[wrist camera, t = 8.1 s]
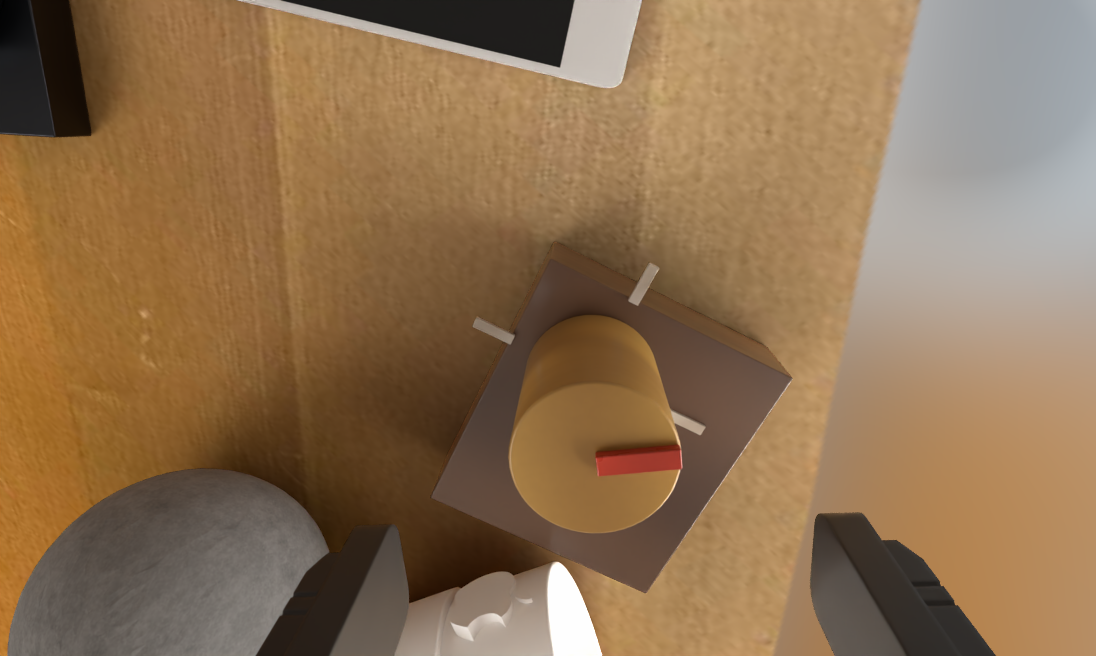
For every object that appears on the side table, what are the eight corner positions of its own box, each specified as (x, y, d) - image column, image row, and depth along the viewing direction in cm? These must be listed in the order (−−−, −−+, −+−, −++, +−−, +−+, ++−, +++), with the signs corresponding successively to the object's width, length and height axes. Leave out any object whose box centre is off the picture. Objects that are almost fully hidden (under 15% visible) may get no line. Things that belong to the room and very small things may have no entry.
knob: (535, 440, 22) (520, 548, 17) (516, 321, 21) (493, 396, 15) (661, 429, 22) (689, 534, 16) (651, 306, 20) (678, 377, 15)
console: (537, 191, 22) (531, 203, 19) (787, 318, 23) (817, 347, 20) (417, 443, 26) (395, 486, 23) (639, 543, 27) (646, 597, 24)
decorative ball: (97, 500, 27) (-158, 702, 18) (256, 377, 25) (61, 535, 16) (257, 650, 30) (106, 900, 20) (417, 550, 27) (331, 778, 18)
